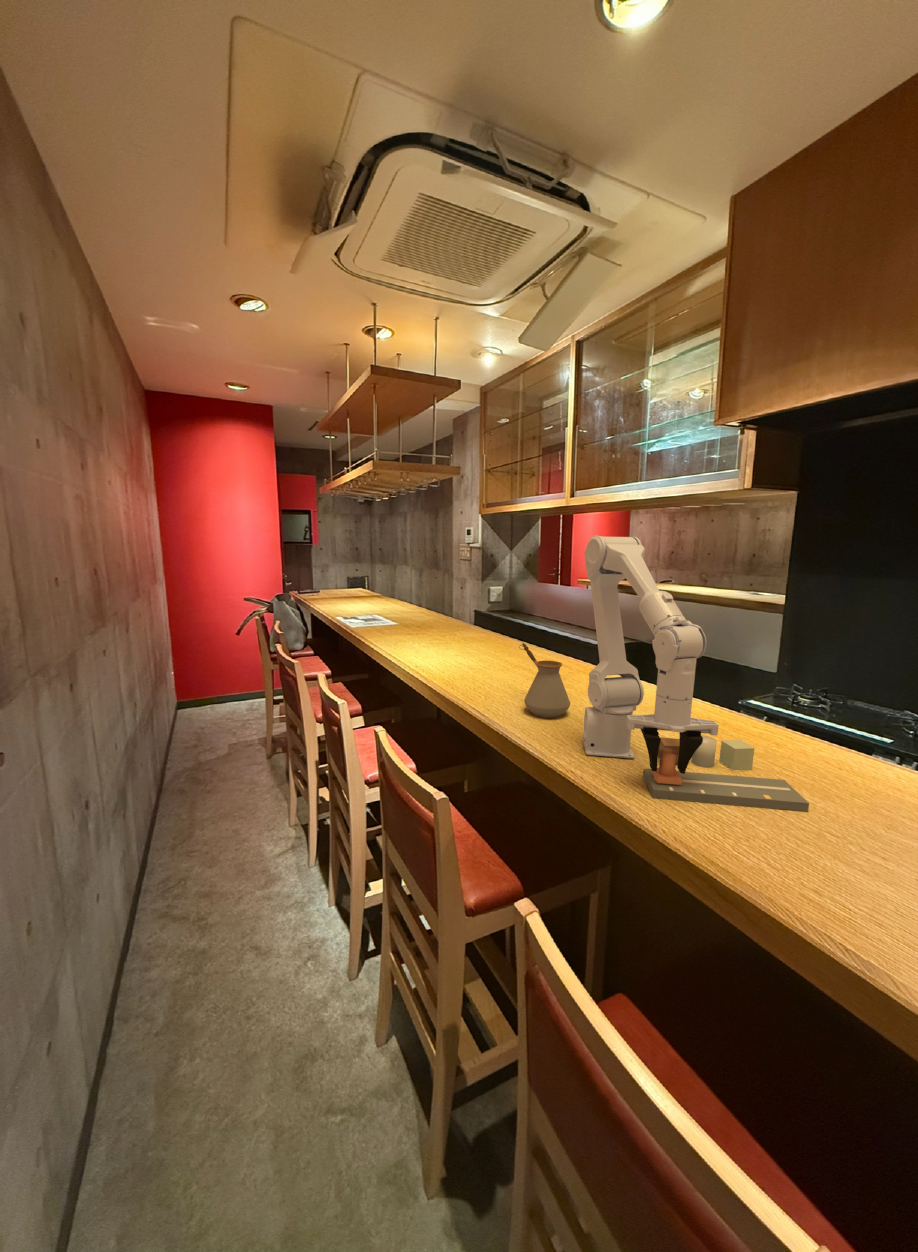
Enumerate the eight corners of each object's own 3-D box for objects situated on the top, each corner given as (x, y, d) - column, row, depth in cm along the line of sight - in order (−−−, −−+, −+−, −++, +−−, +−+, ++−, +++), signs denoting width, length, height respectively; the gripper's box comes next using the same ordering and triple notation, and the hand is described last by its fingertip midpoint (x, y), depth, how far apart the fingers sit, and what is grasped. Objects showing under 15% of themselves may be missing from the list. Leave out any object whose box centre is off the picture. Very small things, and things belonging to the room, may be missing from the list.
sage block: (732, 771, 93) (735, 748, 92) (719, 761, 97) (721, 740, 96) (751, 770, 94) (754, 748, 93) (737, 761, 97) (740, 739, 97)
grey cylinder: (695, 766, 94) (697, 742, 94) (688, 758, 98) (691, 734, 98) (717, 768, 94) (719, 744, 93) (709, 759, 98) (712, 736, 97)
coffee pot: (578, 718, 120) (582, 658, 117) (536, 722, 116) (539, 661, 114) (538, 692, 140) (540, 641, 137) (501, 696, 136) (503, 643, 134)
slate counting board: (652, 797, 82) (653, 788, 82) (642, 776, 90) (643, 767, 90) (807, 811, 79) (809, 802, 79) (783, 787, 87) (784, 778, 86)
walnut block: (662, 764, 95) (664, 745, 95) (657, 756, 99) (659, 737, 99) (684, 766, 95) (686, 746, 94) (678, 757, 99) (680, 738, 98)
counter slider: (657, 782, 84) (659, 755, 83) (651, 772, 88) (653, 746, 87) (681, 784, 83) (684, 757, 83) (675, 774, 87) (677, 747, 86)
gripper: (634, 699, 80) (628, 776, 82) (728, 705, 78) (719, 784, 80) (626, 687, 87) (621, 759, 89) (712, 692, 85) (705, 765, 87)
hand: (667, 769), depth 85 cm, fingers open, 4 cm apart
